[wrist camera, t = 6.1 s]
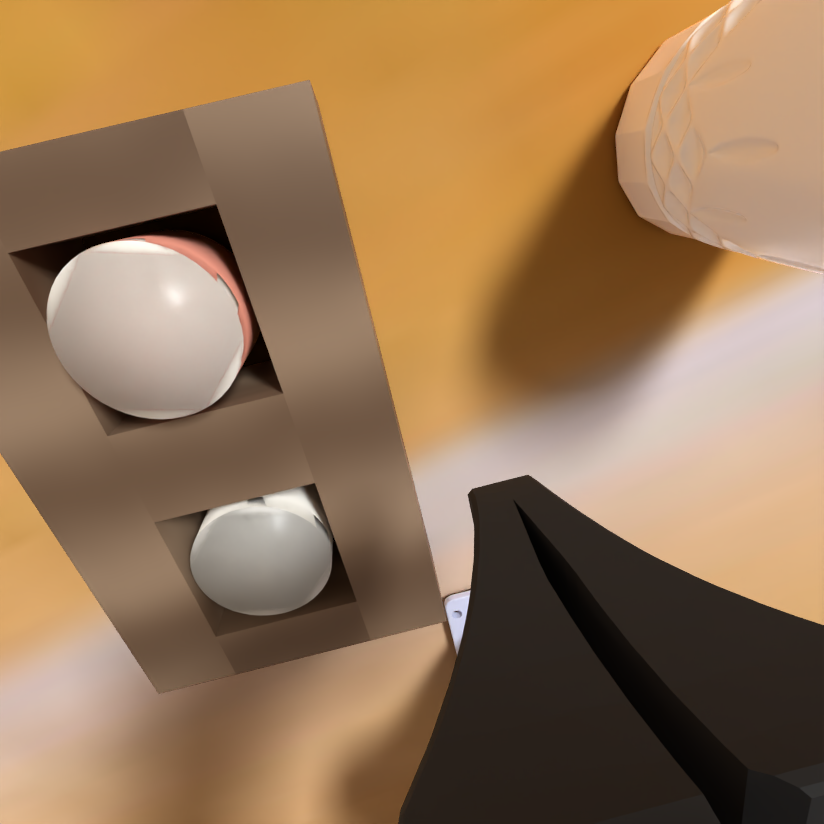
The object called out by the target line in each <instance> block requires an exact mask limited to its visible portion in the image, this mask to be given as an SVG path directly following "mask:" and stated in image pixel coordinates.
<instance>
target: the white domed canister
mask: <svg viewBox="0 0 824 824" xmlns="http://www.w3.org/2000/svg"><path fill="white" fill-rule="evenodd" d="M332 547H333V533H332V530H331V527H330V524H329V521H328V518H327V516H326V513H325V510H324V507H323V504H322V501H321V499H320V496H319V493H318V490H317V487H316V485H315V483H313V484H309V485H305V486H301V487H297V488H293V489H289V490H285V491H281V492H276V493H272V494H268V495H264V496H260V497H256V498H252V499H248V500H244V501H240V502H236V503H232V504H228V505H224V506H220V507H216V508H212V509H208V511H207V513H206V515H205V518H204V520H203V522H202V525H201V527H200V529H199V532H198V534H197V536H196V539H195V541H194V543H193V546H192V549H191V554H190V567H191V571H192V574H193V577H194V579H195V581H196V583H197V584H198V586H199V587H200V589H201V590H202V591H203V592H204V593H205V594H206V595H207V596H208V597H209V598H210V599H212V600H213V601H215V602H216V603H217V604H219V605H221V606H223V607H225V608H227V609H230V610H232V611H236V612H239V613H243V614H249V615H276V614H281V613H286V612H289V611H292V610H294V609H297V608H299V607H301V606H303V605H305V604H307V603H308V602H309V601H311V600H312V599H313V598H315V597H316V596H317V595H318V594H319V593H320V591H321V590H322V589H323V588H324V586H325V584H326V583H327V581H328V578H329V576H330V572H331V568H332Z"/></svg>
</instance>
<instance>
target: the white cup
mask: <svg viewBox="0 0 824 824" xmlns="http://www.w3.org/2000/svg"><path fill="white" fill-rule="evenodd" d="M615 140H616V154H617V168H618V181H619V183H620V185H621V187H622V189H623V190H624V192H625V194H626V196H627V197H628V199H629V201H630V202H631V204H632V206H633V208H634V209H635V211H636V213H637V215H638V216H639V217H641V218H643V219H645V220H647V221H648V222H650V223H652V224H654V225H656V226H658V227H659V228H661V229H663V230H665V231H667V232H669V233H671V234H674V235H679V236H683V237H688V238H693V239H696V240H699V241H701V242H704V243H706V244H709V245H712V246H715V247H718V248H722V249H725V250H728V251H734V252H739V253H742V254H745V255H748V256H752V257H755V258H758V259H762V260H765V261H769V262H773V263H777V264H781V265H785V266H790V267H794V268H798V269H802V270H806V271H810V272H815V273H819V274H823V275H824V0H731V1H730V2H729V3H728V4H727V5H725V6H723V7H722V8H720V9H719V10H717V11H716V12H714V13H712V14H711V15H709V16H707V17H705V18H704V19H702V20H700V21H698V22H697V23H695V24H693V25H692V26H690V27H688V28H686V29H685V30H683V31H681V32H679V33H678V34H676V35H674V36H672V37H671V38H669V39H667V40H666V41H664V42H663V44H662V45H661V46H660V48H659V49H658V50H657V51H656V53H655V54H654V55H653V57H652V58H651V59H650V61H649V62H648V63H647V65H646V66H645V67H644V68H643V70H642V71H641V72H640V74H639V75H638V76H637V78H636V79H635V80H634V82H633V83H632V84H631V86H630V89H629V93H628V96H627V99H626V102H625V105H624V109H623V112H622V115H621V118H620V121H619V125H618V128H617V131H616V135H615Z"/></svg>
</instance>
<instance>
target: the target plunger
mask: <svg viewBox="0 0 824 824" xmlns="http://www.w3.org/2000/svg"><path fill="white" fill-rule="evenodd" d="M47 326H48V332H49V336H50V339H51V343H52V346H53V348H54V350H55V352H56V354H57V357H58V359H59V360H60V362H61V363H62V365H63V367H64V368H65V370H66V371H67V372H68V373H69V375H70V376H71V377H72V378H73V379H74V380H75V381H76V382H77V383H78V384H79V385H80V386H81V387H82V388H83V389H84V390H85V391H86V392H88V393H89V394H90V395H91V396H93V397H94V398H96V399H97V400H99V401H100V402H102V403H104V404H106V405H108V406H110V407H112V408H114V409H116V410H118V411H121V412H124V413H126V414H130V415H134V416H137V417H143V418H149V419H174V418H179V417H185V416H188V415H191V414H194V413H197V412H199V411H201V410H203V409H205V408H207V407H209V406H210V405H212V404H213V403H215V402H216V401H217V400H218V399H219V398H220V397H222V396H223V394H224V393H225V392H226V391H227V390H228V389H229V387H230V386H231V384H232V382H233V381H234V379H235V378H236V376H237V374H238V372H239V371H240V369H241V367H242V366H243V364H244V362H245V360H246V359H247V357H248V355H249V354H250V352H251V350H252V348H253V347H254V345H255V343H256V341H257V338H258V336H259V332H260V326H259V323H258V321H257V318H256V315H255V312H254V309H253V306H252V304H251V301H250V298H249V295H248V292H247V289H246V287H245V284H244V281H243V278H242V275H241V272H240V270H239V267H238V264H237V261H236V258H235V256H234V255H233V254H232V253H231V252H230V251H229V250H228V249H226V248H225V247H223V246H222V245H220V244H219V243H217V242H216V241H214V240H212V239H210V238H208V237H205V236H203V235H200V234H197V233H193V232H189V231H184V230H160V231H154V232H150V233H145V234H141V235H137V236H133V237H128V238H124V239H120V240H116V241H112V242H107V243H104V244H100V245H97V246H94V247H92V248H90V249H88V250H86V251H83V252H82V253H80V254H79V255H77V256H76V257H74V258H73V259H72V260H71V261H70V262H69V263H68V264H67V265H66V266H65V267H64V268H63V269H62V270H61V272H60V273H59V274H58V276H57V277H56V279H55V281H54V283H53V285H52V287H51V291H50V294H49V297H48V303H47Z"/></svg>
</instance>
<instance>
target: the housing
mask: <svg viewBox="0 0 824 824" xmlns="http://www.w3.org/2000/svg"><path fill="white" fill-rule="evenodd" d="M212 207H218V210H219V213H220V216H221V219H222V222H223V224H224V227H225V230H226V233H227V236H228V239H229V241H230V244H231V247H232V250H233V253H234V256H235V258H236V261H237V264H238V267H239V270H240V272H241V275H242V278H243V281H244V284H245V287H246V289H247V292H248V295H249V298H250V301H251V304H252V306H253V309H254V312H255V315H256V318H257V321H258V323H259V326H260V329H261V332H262V335H263V338H264V340H265V343H266V346H267V349H268V352H269V354H270V357H271V361H266V362H262V363H258V364H254V365H250V366H246V367H242V368H241V369H240V371H239V372H238V374H237V376H236V378H235V379H234V381H233V382H232V384H231V386H230V387H229V389H228V390H227V391H226V392H225V393H224V394H223V396H222V397H220V398H219V399H218V400H217V401H216V402H215V403H213V404H212V405H210V406H209V407H207V408H205V409H203V410H201V411H199V412H197V413H194V414H191V415H188V416H185V417H179V418H174V419H149V418H143V417H137V416H134V415H130V414H126V413H124V412H121V411H118V410H116V409H114V408H112V407H110V406H108V405H106V404H104V403H102V402H100V401H99V400H97V399H96V398H94V397H93V396H91V395H90V394H89V393H88V392H86V391H85V390H84V389H83V388H82V387H81V386H80V385H79V384H78V383H77V382H76V381H75V380H74V379H73V378H72V377H71V376H70V375H69V373H68V372H67V371H66V370H65V368H64V367H63V365H62V363H61V362H60V360H59V359H58V357H57V354H56V352H55V350H54V348H53V346H52V343H51V339H50V336H49V332H48V326H47V303H48V297H49V294H50V291H51V287H52V285H53V283H54V281H55V279H56V277H57V276H58V274H59V273H60V272H61V270H62V269H63V268H64V267H65V266H66V265H67V264H68V263H69V262H70V261H71V260H72V259H73V258H74V257H76V256H77V255H79V254H80V253H82V252H83V251H86V248H85V246H84V244H83V241H82V239H81V238H85V237H90V236H94V235H98V234H102V233H107V232H111V231H115V230H119V229H124V228H128V227H132V226H136V225H140V224H145V223H149V222H153V221H157V220H162V219H166V218H170V217H174V216H179V215H183V214H187V213H191V212H196V211H200V210H204V209H208V208H212ZM0 453H1V455H2V456H3V458H4V459H5V461H6V462H7V464H8V465H9V467H10V469H11V470H12V472H13V473H14V475H15V476H16V478H17V479H18V481H19V482H20V484H21V485H22V487H23V488H24V490H25V491H26V493H27V494H28V496H29V497H30V499H31V500H32V502H33V504H34V505H35V507H36V508H37V510H38V511H39V513H40V514H41V516H42V517H43V519H44V520H45V522H46V523H47V525H48V526H49V528H50V529H51V531H52V532H53V534H54V535H55V537H56V538H57V540H58V542H59V543H60V545H61V546H62V548H63V549H64V551H65V552H66V554H67V555H68V557H69V558H70V560H71V561H72V563H73V564H74V566H75V567H76V569H77V570H78V572H79V573H80V575H81V576H82V578H83V580H84V581H85V583H86V584H87V586H88V587H89V589H90V590H91V592H92V593H93V595H94V596H95V598H96V599H97V601H98V602H99V604H100V605H101V607H102V608H103V610H104V611H105V613H106V615H107V616H108V618H109V619H110V621H111V622H112V624H113V625H114V627H115V628H116V630H117V631H118V633H119V634H120V636H121V637H122V639H123V640H124V642H125V643H126V645H127V646H128V648H129V649H130V651H131V653H132V654H133V656H134V657H135V659H136V660H137V662H138V663H139V665H140V666H141V668H142V669H143V671H144V672H145V674H146V675H147V677H148V678H149V680H150V681H151V683H152V684H153V686H154V688H155V689H156V691H157V692H158V694H161V693H164V692H168V691H172V690H176V689H180V688H184V687H188V686H192V685H196V684H200V683H204V682H208V681H212V680H216V679H220V678H224V677H228V676H232V675H236V674H240V673H244V672H248V671H252V670H256V669H259V668H263V667H267V666H271V665H275V664H279V663H283V662H287V661H291V660H295V659H299V658H303V657H307V656H311V655H315V654H319V653H323V652H327V651H331V650H335V649H339V648H343V647H347V646H351V645H354V644H358V643H362V642H366V641H370V640H374V639H378V638H382V637H386V636H390V635H394V634H398V633H402V632H406V631H410V630H414V629H418V628H422V627H426V626H430V625H434V624H438V623H442V622H446V621H447V619H446V615H445V610H444V606H443V602H442V597H441V593H440V588H439V584H438V580H437V575H436V571H435V567H434V562H433V558H432V554H431V550H430V546H429V542H428V538H427V534H426V530H425V526H424V522H423V518H422V514H421V510H420V506H419V502H418V498H417V494H416V490H415V486H414V482H413V478H412V474H411V470H410V466H409V462H408V458H407V454H406V450H405V446H404V443H403V439H402V435H401V431H400V427H399V423H398V419H397V415H396V411H395V407H394V403H393V399H392V395H391V391H390V387H389V383H388V379H387V375H386V371H385V367H384V363H383V359H382V355H381V351H380V347H379V343H378V339H377V335H376V331H375V327H374V323H373V320H372V316H371V312H370V308H369V304H368V300H367V296H366V292H365V288H364V284H363V280H362V276H361V272H360V268H359V264H358V260H357V256H356V252H355V248H354V244H353V240H352V236H351V232H350V228H349V224H348V220H347V216H346V212H345V208H344V204H343V200H342V197H341V193H340V189H339V185H338V181H337V177H336V173H335V169H334V165H333V161H332V157H331V153H330V149H329V145H328V141H327V137H326V133H325V129H324V125H323V121H322V117H321V113H320V109H319V105H318V102H317V99H316V97H315V94H314V91H313V88H312V85H311V83H310V80H307V81H303V82H298V83H294V84H290V85H286V86H281V87H277V88H273V89H268V90H264V91H260V92H255V93H251V94H247V95H243V96H238V97H234V98H230V99H225V100H221V101H217V102H212V103H208V104H204V105H199V106H195V107H191V108H187V109H182V110H178V111H174V112H169V113H165V114H161V115H156V116H152V117H148V118H144V119H139V120H135V121H131V122H126V123H122V124H118V125H113V126H109V127H105V128H101V129H96V130H92V131H88V132H83V133H79V134H75V135H70V136H66V137H62V138H58V139H53V140H49V141H45V142H40V143H36V144H32V145H27V146H23V147H19V148H15V149H10V150H6V151H2V152H0ZM313 483H315V485H316V487H317V490H318V493H319V496H320V499H321V501H322V504H323V507H324V510H325V513H326V516H327V518H328V521H329V524H330V527H331V530H332V533H333V535H334V538H335V541H334V542H333V547H332V568H331V572H330V576H329V578H328V581H327V583H326V584H325V586H324V588H323V589H322V590H321V591H320V593H319V594H318V595H317V596H316V597H315V598H313V599H312V600H311V601H309V602H308V603H307V604H305V605H303V606H301V607H299V608H297V609H294V610H292V611H289V612H286V613H281V614H276V615H249V614H243V613H239V612H236V611H232V610H230V609H227V608H225V607H223V606H221V605H219V604H217V603H216V602H215V601H213V600H212V599H210V598H209V597H208V596H207V595H206V594H205V593H204V592H203V591H202V590H201V589H200V587H199V586H198V584H197V583H196V581H195V579H194V577H193V574H192V571H191V567H190V554H191V549H192V546H193V543H194V541H195V539H196V536H197V534H198V532H199V529H200V527H201V525H202V522H203V520H204V518H205V515H206V513H207V511H208V509H212V508H216V507H220V506H224V505H228V504H232V503H236V502H240V501H244V500H248V499H252V498H256V497H260V496H264V495H268V494H272V493H276V492H281V491H285V490H289V489H293V488H297V487H301V486H305V485H309V484H313Z"/></svg>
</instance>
